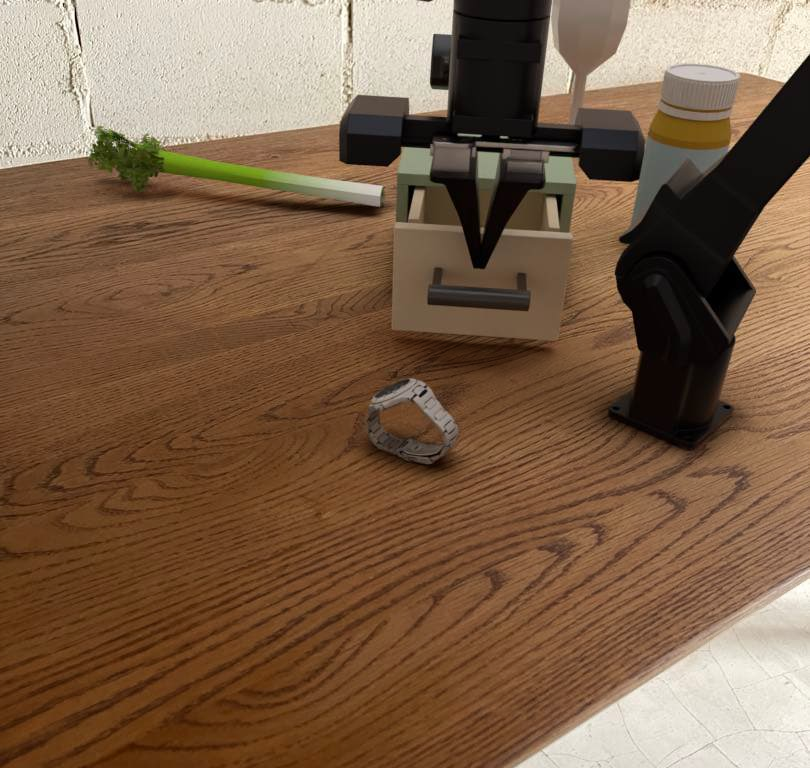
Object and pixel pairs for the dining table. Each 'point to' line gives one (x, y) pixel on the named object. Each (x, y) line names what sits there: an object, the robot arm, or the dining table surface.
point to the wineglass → (587, 38)
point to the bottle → (687, 125)
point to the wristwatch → (431, 409)
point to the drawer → (480, 270)
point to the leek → (215, 170)
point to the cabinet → (484, 180)
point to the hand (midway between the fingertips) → (479, 266)
